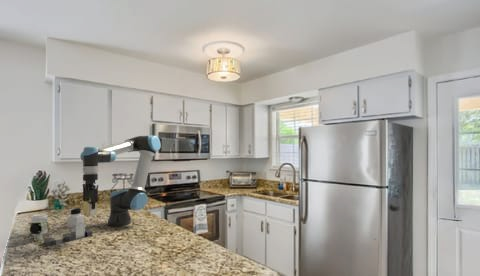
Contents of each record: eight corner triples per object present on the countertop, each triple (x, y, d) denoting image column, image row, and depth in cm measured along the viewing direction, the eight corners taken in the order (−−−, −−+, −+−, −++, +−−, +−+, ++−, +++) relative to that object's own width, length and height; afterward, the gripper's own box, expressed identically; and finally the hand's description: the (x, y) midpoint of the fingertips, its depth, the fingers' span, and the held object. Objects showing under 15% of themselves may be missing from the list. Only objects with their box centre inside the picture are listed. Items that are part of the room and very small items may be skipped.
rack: (85, 233, 170) (85, 229, 170) (92, 236, 164) (92, 231, 165) (43, 243, 152) (43, 238, 153) (50, 247, 147) (50, 241, 147)
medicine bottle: (83, 225, 191) (83, 207, 192) (76, 227, 184) (76, 209, 185) (74, 224, 192) (74, 207, 192) (66, 227, 185) (67, 209, 185)
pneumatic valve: (29, 243, 153) (29, 221, 154) (38, 237, 164) (38, 217, 165) (40, 242, 155) (40, 221, 155) (48, 236, 166) (49, 216, 166)
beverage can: (39, 236, 166) (39, 216, 166) (27, 236, 167) (28, 216, 168) (50, 232, 174) (51, 213, 174) (40, 232, 175) (40, 213, 176)
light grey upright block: (81, 235, 166) (81, 221, 166) (84, 236, 163) (84, 223, 163) (72, 237, 162) (72, 223, 162) (75, 239, 159) (75, 224, 159)
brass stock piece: (92, 213, 161) (92, 199, 162) (96, 214, 158) (96, 200, 159) (83, 215, 157) (83, 201, 157) (87, 216, 154) (87, 201, 155)
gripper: (76, 173, 161) (75, 213, 160) (91, 174, 151) (91, 217, 149) (89, 172, 167) (89, 211, 166) (105, 173, 157) (104, 214, 156)
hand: (90, 214), depth 158 cm, fingers closed on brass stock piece, 5 cm apart
